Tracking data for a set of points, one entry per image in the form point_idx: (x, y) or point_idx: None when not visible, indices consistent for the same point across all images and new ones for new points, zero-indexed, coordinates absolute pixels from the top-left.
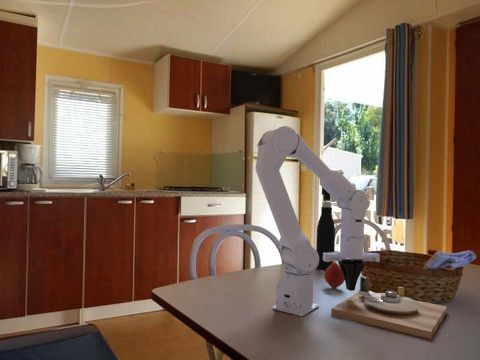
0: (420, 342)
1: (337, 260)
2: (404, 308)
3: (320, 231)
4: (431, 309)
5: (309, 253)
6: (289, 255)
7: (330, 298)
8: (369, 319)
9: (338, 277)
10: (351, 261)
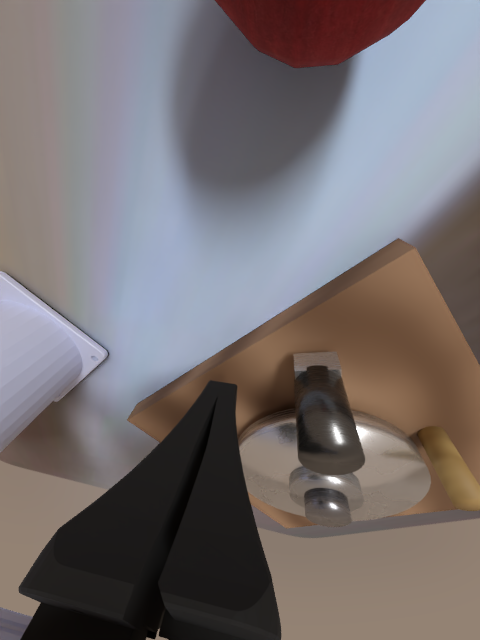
0: (258, 509)
1: (3, 621)
2: (302, 515)
3: None
4: (445, 494)
5: None
6: None
7: (181, 263)
8: None
9: (309, 53)
10: (171, 633)
